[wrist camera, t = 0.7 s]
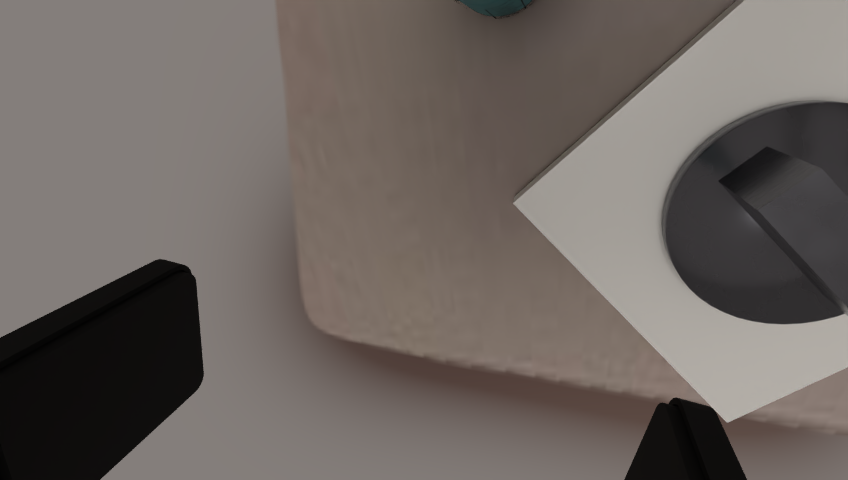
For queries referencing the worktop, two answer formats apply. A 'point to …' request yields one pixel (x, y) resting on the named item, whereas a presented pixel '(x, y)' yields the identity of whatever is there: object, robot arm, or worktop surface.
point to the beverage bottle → (496, 6)
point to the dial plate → (650, 181)
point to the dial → (766, 215)
